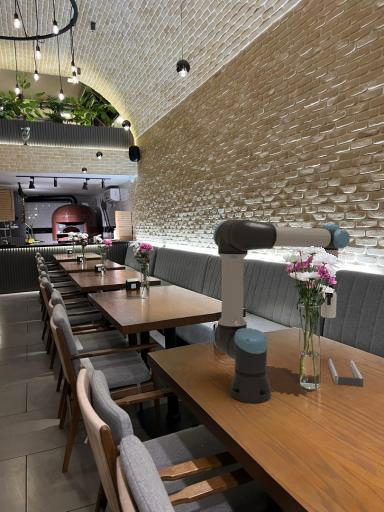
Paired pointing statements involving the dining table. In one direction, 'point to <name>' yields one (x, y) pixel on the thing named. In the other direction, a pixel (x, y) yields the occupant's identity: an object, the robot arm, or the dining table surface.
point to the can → (329, 307)
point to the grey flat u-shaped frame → (347, 380)
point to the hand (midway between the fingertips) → (327, 310)
